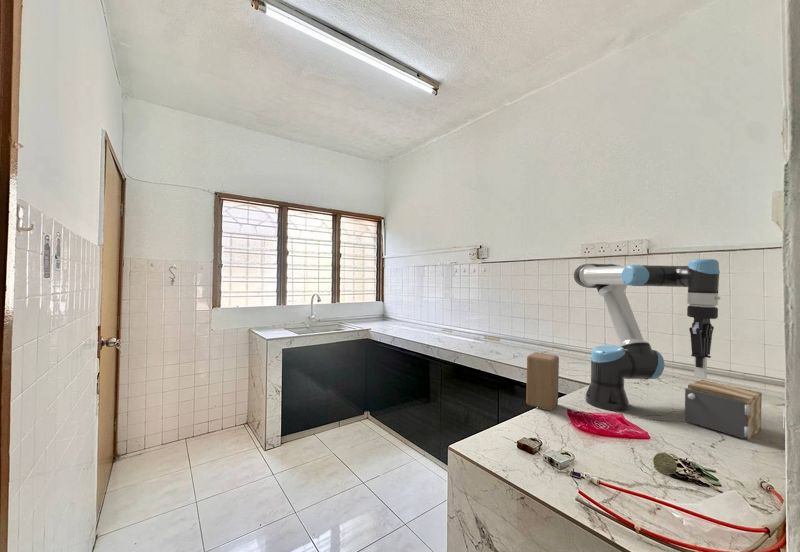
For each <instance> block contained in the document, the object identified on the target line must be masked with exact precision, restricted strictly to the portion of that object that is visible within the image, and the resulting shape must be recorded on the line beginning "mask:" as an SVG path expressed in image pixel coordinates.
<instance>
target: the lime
mask: <svg viewBox="0 0 800 552" xmlns="http://www.w3.org/2000/svg"><path fill="white" fill-rule="evenodd" d="M652 459H653V460H652V462H653V465H654V467H655V469H656V470H657V472H659V473H660V474H663V475H668V476H669V475H674V474H675V473H676V472H677V470H678V463H677V461H676V460H675V459H674V457H673V456H672V455H670V454H668V453H666V452H658V453H656V454H655V455H654V456H653V458H652Z"/></svg>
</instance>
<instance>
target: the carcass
mask: <svg viewBox="0 0 800 552" xmlns="http://www.w3.org/2000/svg"><path fill="white" fill-rule="evenodd" d="M687 388H688V389H692V390H696V391H700V392H705V393H709V394H713V395H717V396H722V397H726V398H730V399H735V400H739V401H743V402H747V404H748V405H750V416H748V415H746V426H749V427H750V437H746V438H745V440H749V439H751V438H752V437H754V436H755V435H757V433H759V432H761V431H762V401H763V399H762V395H763V393H762V392H760V391H755V390H751V389H746V388H742V387H738V386H733V385H729V384H728V385H727V384H723V383H718V382H714V381H709V380H705V379H700V380H697V381H695V382H692V383H689V384H687Z"/></svg>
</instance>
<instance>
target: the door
mask: <svg viewBox="0 0 800 552" xmlns="http://www.w3.org/2000/svg"><path fill="white" fill-rule="evenodd" d="M684 390H685V392H684V393H685V394H684V421H685V422H688V423H691V424H695V425H697V426H701V427H705V428H708V429H711V430H715V431H719V432H721V433H725V434H728V435H731V436H735V437H739V438H741V439H745V438H746V437H750V427H749V426H746V415H748V416H750V405H748V404H747V402H743V401H739V400H735V399H730V398H726V397H722V396H717V395H713V394H709V393H705V392H700V391H696V390H692V389H688V387H687V388H685V389H684ZM745 440H746V439H745Z"/></svg>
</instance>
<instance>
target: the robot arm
mask: <svg viewBox="0 0 800 552" xmlns="http://www.w3.org/2000/svg"><path fill="white" fill-rule="evenodd" d="M573 279H574V282H575V283H576V284H577V285H578V286H580V287H583V288H587V289H596V290H597V293H598V294H599V296H602V297H603V299H604V302H605V304H606V307H607V310H608V313H609V316H610V319H611V322H612V324H613V327H614V329H615V332H616V333H615V334H616V336H617V339H618V342H619V346H618V345H610V344H608V345H606V344H604V345H598V346H594V347H593V348H592V349H591V355H590V382H589V383H590V384H589V386H588V388H587V390H586V393H585V401H586V403H587V404H590V405H591V406H593V407H596V408H599V409H603V410H608V411H615V412H617V411H619V412H620V411H621V412H622V411H628V410H629V408H630V407H629V406H630V402H629V399H628V395H627V393H626V390H625V380H646V381H647V380H655V379H658V378H659V377H661V376H662V374H664V373H663V372H664V371H665V359H664V357H663V355H662V354H661V353H660V352H659V351H657V350H656V349H653V348H652V346H651V344H650V342H647V341H646V340H644V338H643V335H642V332H641V330H640V327H639V325H638V322H637V320H636V317H635V314H634V313H633V310H632V307H631V304H630V302H629V300H628V297H627V294H626V292H625V291H626V290H627V288H628V287H627V286H630V287H668V288H669V287H672V288H678V287H679V288H687V300H686V301H687V303H686V304H687V305H688V306H687V309H686V310H687V312H686V315H687V317H689V318H693V322H692V323H691V327H689V328H688V330H689V333H690V343H691V355H690V356H691V357H694V370H693V371H694V375H693V376H694V377H697V378H702V379H707V377H708V376H707V374H708V372H707V371H708V370H707V369H708V359H711V357H712V355H710V354H711V349H712V338H713V332H714V330H715V329H714V328H715V327H714V325H712V323H711V320H717V319H718V318H719V317H718V316H719V308H718V307H717V306H719V300H721V296H719V286H720V284H719V283H720V262H719V261H718V260H717V259H715V258H713V259H712V258H701V259H699V258H697V259H696V258H694V259H690V260H689V261H688V265H648V264H647V265H646V264H629V265H621V264H615V263H584V264H581V265H579V266H577V268H575V270H574V273H573Z"/></svg>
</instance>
